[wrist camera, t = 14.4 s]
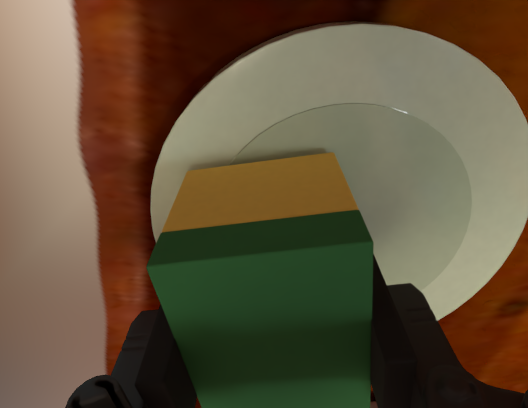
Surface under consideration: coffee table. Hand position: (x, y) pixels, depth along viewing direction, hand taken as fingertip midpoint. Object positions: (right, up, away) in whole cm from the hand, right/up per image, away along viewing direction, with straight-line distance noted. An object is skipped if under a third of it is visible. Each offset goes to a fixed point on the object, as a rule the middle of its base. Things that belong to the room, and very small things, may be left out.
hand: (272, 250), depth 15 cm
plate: (+3, +1, +2) cm, 4 cm away
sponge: (0, 0, 0) cm, 0 cm away
